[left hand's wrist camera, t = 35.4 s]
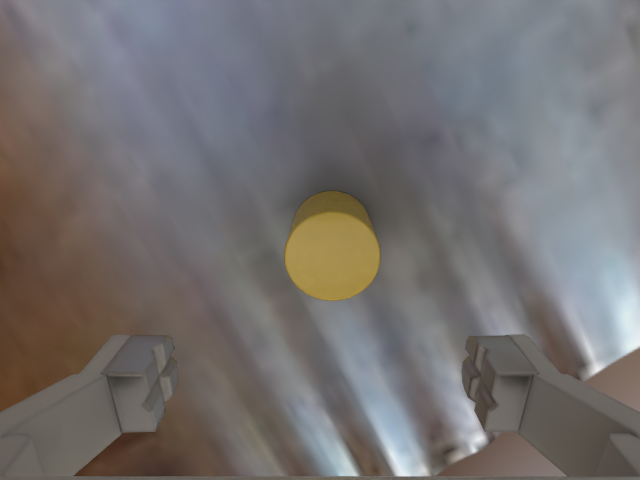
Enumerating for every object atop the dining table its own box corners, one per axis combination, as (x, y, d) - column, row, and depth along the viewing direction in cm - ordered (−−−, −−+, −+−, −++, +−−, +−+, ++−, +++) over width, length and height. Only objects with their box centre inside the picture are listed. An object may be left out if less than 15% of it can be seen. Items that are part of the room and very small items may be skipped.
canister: (316, 277, 24) (313, 315, 20) (278, 214, 23) (265, 240, 19) (383, 243, 24) (396, 276, 19) (348, 176, 22) (353, 193, 18)
